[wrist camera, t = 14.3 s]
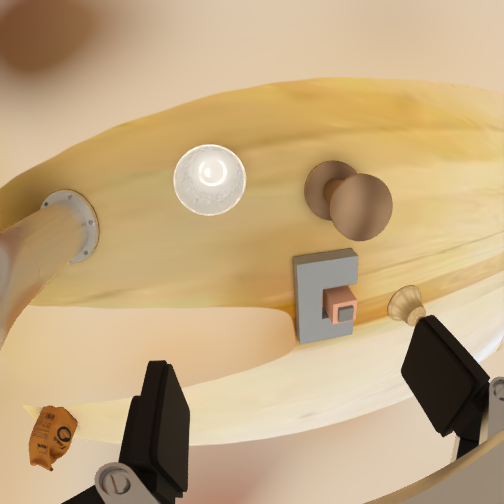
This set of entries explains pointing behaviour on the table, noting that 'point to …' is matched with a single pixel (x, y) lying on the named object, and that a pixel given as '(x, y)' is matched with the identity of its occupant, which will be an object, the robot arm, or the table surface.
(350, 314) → the copper brown square peg
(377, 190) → the bobbin
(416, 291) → the hand bell
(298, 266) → the notch board
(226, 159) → the white cup
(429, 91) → the table surface
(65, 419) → the coffee package
